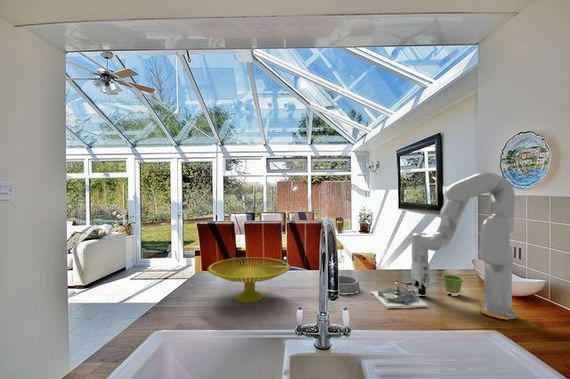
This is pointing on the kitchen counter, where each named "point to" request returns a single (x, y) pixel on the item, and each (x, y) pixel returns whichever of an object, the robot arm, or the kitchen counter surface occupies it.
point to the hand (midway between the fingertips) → (419, 294)
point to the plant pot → (452, 283)
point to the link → (416, 289)
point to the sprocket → (397, 295)
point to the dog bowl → (348, 284)
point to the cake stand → (249, 275)
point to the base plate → (396, 304)
